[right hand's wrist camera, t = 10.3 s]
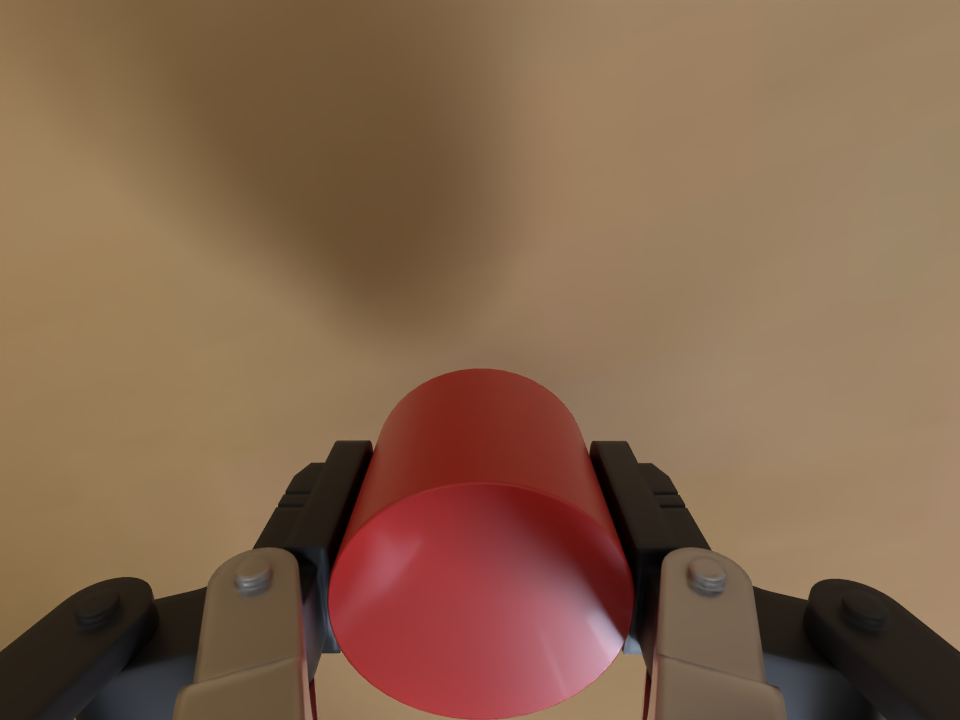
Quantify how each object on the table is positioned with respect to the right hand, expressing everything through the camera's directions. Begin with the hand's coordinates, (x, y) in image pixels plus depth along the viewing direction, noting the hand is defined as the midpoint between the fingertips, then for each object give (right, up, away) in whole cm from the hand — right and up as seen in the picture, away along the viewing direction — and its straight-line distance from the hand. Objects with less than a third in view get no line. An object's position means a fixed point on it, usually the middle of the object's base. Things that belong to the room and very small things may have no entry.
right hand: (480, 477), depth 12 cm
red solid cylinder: (0, 0, 0) cm, 0 cm away
